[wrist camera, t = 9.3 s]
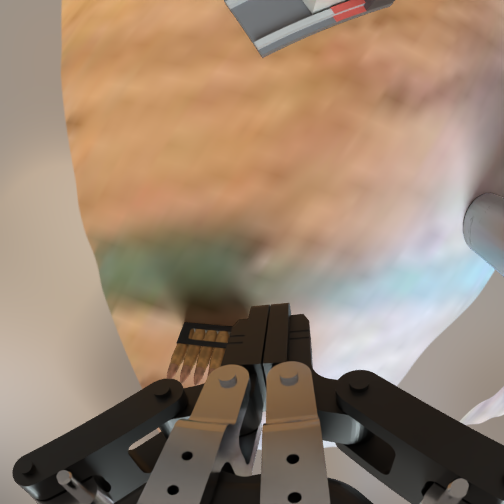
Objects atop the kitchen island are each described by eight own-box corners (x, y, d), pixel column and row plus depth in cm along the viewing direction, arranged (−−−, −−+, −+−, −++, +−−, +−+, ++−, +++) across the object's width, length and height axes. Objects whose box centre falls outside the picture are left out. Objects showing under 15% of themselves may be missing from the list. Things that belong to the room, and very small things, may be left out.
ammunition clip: (253, 328, 47) (245, 385, 36) (253, 337, 48) (245, 395, 37) (184, 321, 48) (159, 374, 37) (185, 331, 48) (162, 384, 37)
